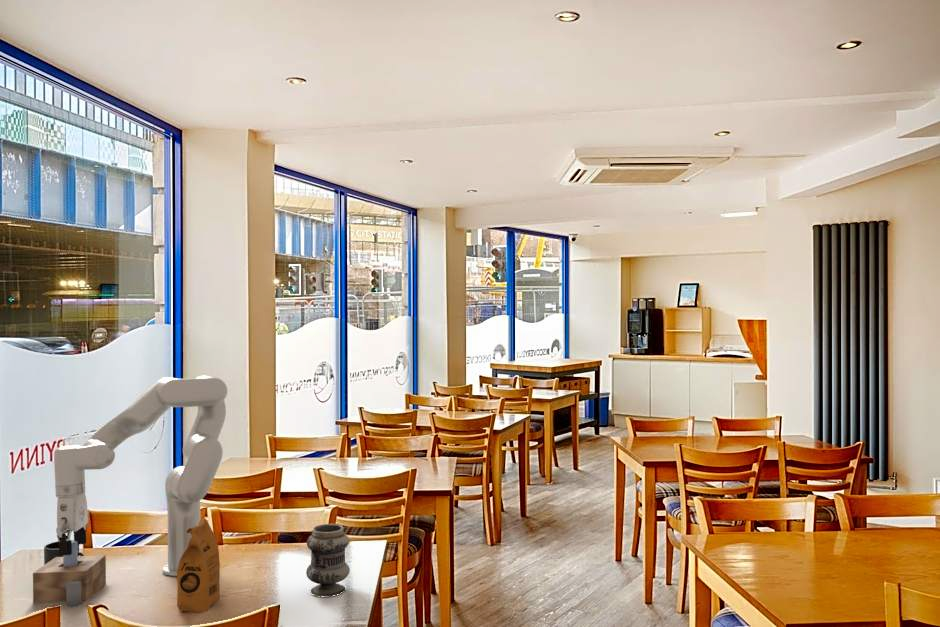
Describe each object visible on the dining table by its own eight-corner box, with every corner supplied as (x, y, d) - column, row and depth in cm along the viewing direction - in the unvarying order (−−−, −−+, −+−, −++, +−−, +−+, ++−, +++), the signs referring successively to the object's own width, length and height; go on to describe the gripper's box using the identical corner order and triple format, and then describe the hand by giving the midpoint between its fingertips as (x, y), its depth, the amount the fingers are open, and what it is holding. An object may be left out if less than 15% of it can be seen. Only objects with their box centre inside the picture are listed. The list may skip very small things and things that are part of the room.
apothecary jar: (336, 601, 209) (335, 535, 209) (297, 596, 213) (297, 531, 213) (357, 586, 220) (356, 523, 220) (321, 581, 224) (320, 520, 224)
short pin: (83, 601, 210) (83, 579, 210) (78, 606, 207) (77, 584, 207) (70, 602, 210) (69, 580, 210) (64, 607, 207) (64, 585, 207)
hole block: (105, 582, 226) (105, 555, 226) (86, 600, 212) (86, 571, 212) (56, 584, 224) (55, 557, 224) (33, 602, 210) (32, 573, 210)
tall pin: (79, 589, 220) (79, 540, 220) (74, 594, 216) (74, 544, 216) (66, 590, 220) (66, 541, 220) (61, 594, 216) (60, 544, 216)
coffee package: (170, 613, 202) (169, 529, 202) (190, 596, 214) (189, 517, 214) (207, 613, 201) (206, 529, 201) (225, 596, 213) (224, 517, 213)
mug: (74, 580, 228) (74, 549, 228) (37, 579, 229) (36, 548, 229) (93, 569, 237) (93, 540, 237) (57, 568, 239) (57, 539, 239)
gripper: (71, 496, 210) (73, 558, 210) (96, 481, 227) (98, 539, 227) (42, 497, 209) (45, 560, 209) (69, 483, 226) (72, 540, 227)
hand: (73, 549), depth 218 cm, fingers open, 9 cm apart
